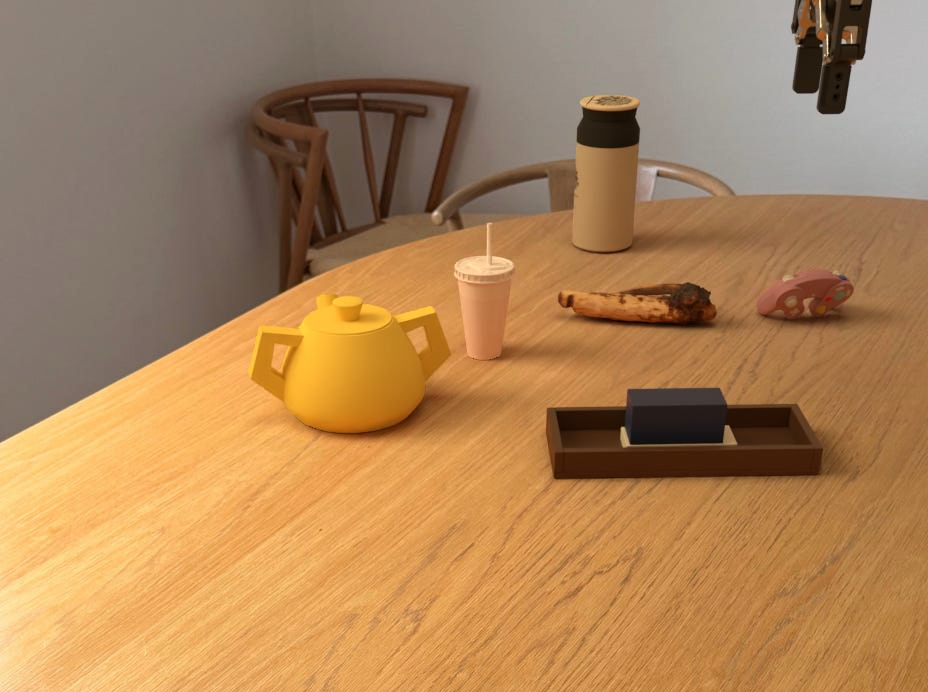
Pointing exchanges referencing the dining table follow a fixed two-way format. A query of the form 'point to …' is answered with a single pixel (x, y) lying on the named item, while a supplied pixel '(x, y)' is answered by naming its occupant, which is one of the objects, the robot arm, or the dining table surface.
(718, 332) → the dining table surface
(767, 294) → the video game controller
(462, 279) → the smoothie
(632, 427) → the navy block
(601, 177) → the travel mug
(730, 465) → the shallow brown tray
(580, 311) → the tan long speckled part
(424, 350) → the teapot
